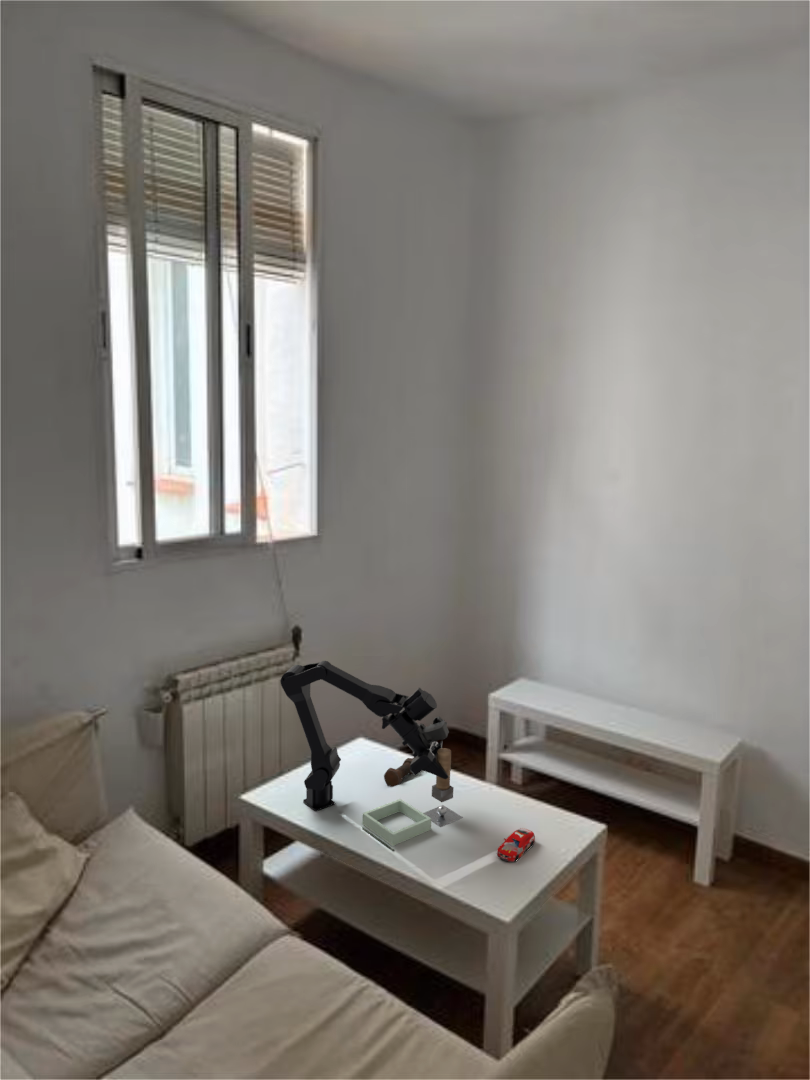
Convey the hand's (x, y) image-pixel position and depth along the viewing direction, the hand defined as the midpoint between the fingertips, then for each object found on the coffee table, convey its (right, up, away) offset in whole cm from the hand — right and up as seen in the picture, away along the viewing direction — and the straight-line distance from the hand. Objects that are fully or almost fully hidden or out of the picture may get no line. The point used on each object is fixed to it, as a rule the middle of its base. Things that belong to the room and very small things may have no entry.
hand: (448, 774), depth 208 cm
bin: (-14, -14, -3) cm, 20 cm away
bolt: (-11, -9, +27) cm, 31 cm away
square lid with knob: (-2, -13, +3) cm, 13 cm away
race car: (+16, -16, -9) cm, 25 cm away
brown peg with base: (-2, -6, +2) cm, 7 cm away
